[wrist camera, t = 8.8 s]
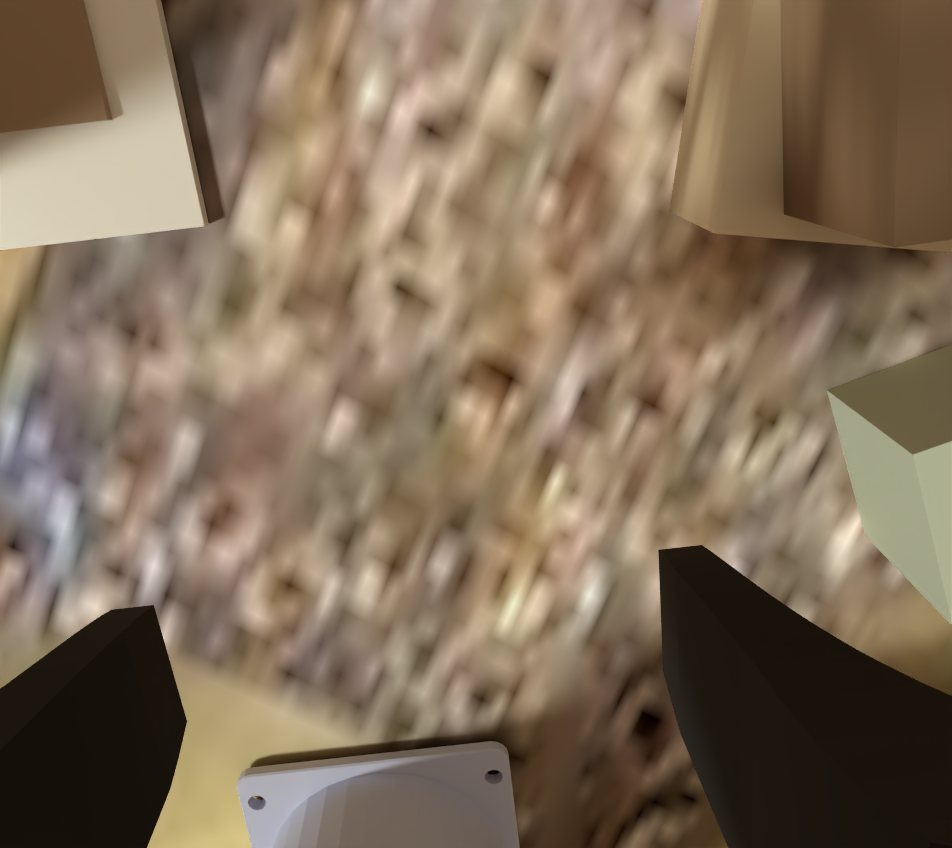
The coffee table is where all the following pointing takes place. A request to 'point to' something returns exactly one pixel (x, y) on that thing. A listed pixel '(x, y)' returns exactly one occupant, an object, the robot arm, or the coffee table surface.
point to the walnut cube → (868, 117)
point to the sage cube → (904, 466)
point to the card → (91, 124)
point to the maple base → (742, 131)
